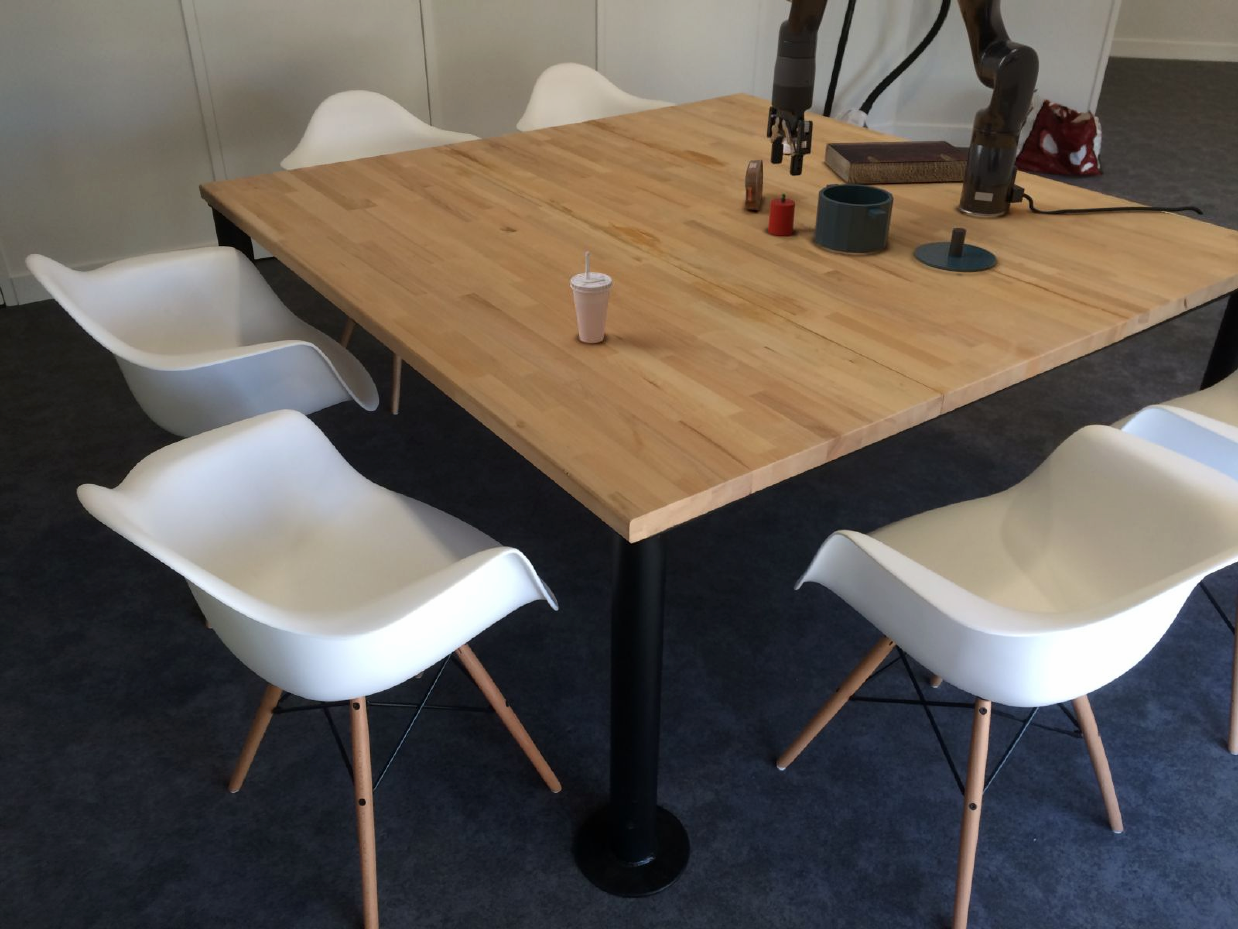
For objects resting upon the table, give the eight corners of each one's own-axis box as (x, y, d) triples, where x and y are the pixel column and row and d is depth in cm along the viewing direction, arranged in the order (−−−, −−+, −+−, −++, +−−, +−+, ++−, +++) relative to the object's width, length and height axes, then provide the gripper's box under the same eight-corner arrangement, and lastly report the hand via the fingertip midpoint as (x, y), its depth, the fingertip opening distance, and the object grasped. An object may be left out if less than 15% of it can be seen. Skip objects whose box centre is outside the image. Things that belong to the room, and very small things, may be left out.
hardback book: (941, 159, 256) (944, 138, 253) (972, 182, 240) (976, 159, 238) (824, 162, 253) (826, 141, 251) (847, 185, 237) (850, 162, 235)
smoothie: (570, 330, 168) (568, 245, 161) (610, 329, 169) (610, 244, 161) (572, 347, 163) (570, 259, 155) (613, 346, 163) (614, 258, 156)
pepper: (786, 226, 212) (789, 189, 208) (796, 234, 208) (800, 196, 204) (764, 228, 211) (767, 191, 207) (774, 236, 207) (777, 198, 203)
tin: (756, 215, 218) (759, 174, 214) (741, 214, 219) (744, 173, 215) (763, 194, 231) (766, 155, 227) (748, 193, 232) (751, 154, 227)
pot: (857, 224, 214) (863, 177, 209) (907, 256, 198) (914, 206, 193) (796, 230, 210) (800, 183, 205) (841, 263, 195) (847, 212, 190)
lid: (965, 244, 204) (971, 214, 201) (1011, 270, 192) (1018, 238, 189) (898, 251, 201) (903, 220, 197) (941, 278, 189) (946, 246, 186)
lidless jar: (801, 152, 261) (785, 148, 264) (802, 140, 259) (786, 136, 262) (788, 155, 258) (772, 151, 261) (789, 143, 256) (773, 139, 259)
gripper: (830, 87, 190) (820, 177, 199) (795, 72, 202) (787, 158, 210) (792, 89, 188) (783, 180, 197) (759, 74, 200) (752, 160, 208)
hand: (785, 169), depth 203 cm, fingers open, 8 cm apart
